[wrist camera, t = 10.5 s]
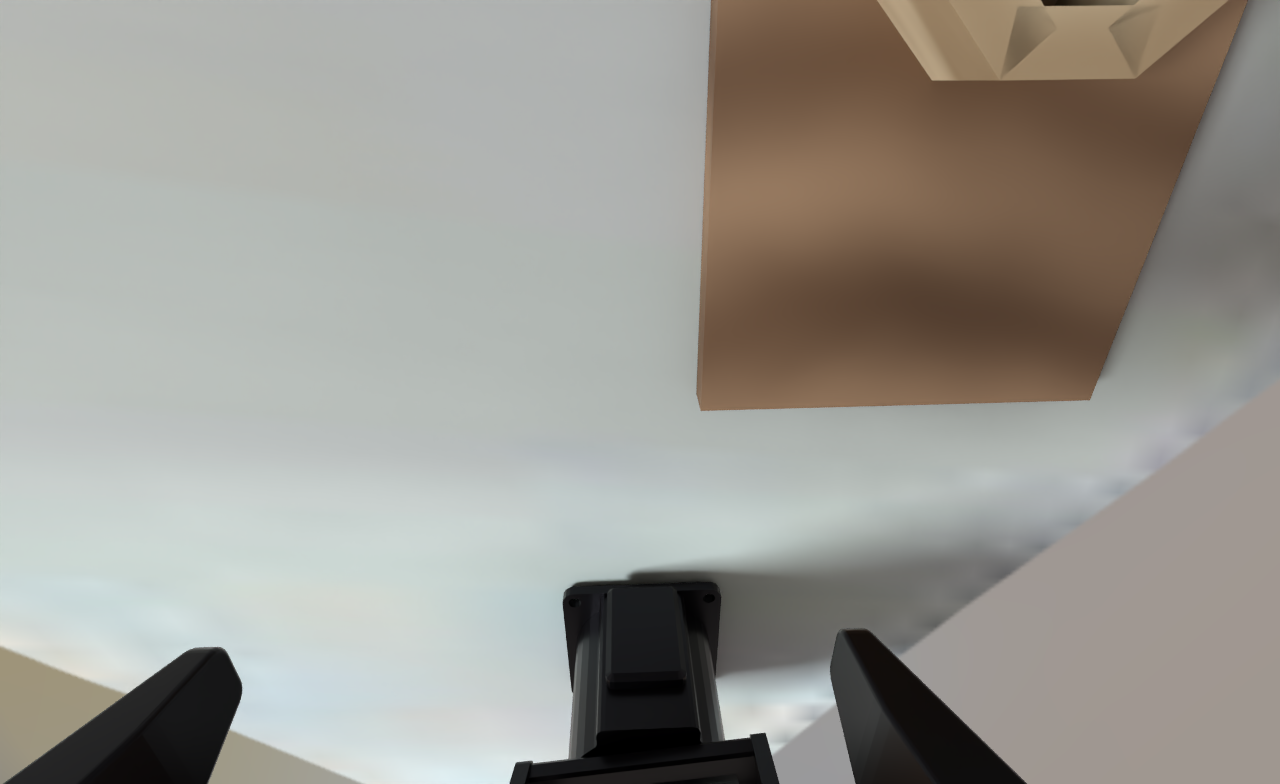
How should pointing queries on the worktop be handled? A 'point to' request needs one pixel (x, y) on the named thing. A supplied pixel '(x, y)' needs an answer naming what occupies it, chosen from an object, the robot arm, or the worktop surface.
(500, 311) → the worktop surface
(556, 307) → the worktop surface
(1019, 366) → the board
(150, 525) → the worktop surface
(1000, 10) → the bead
